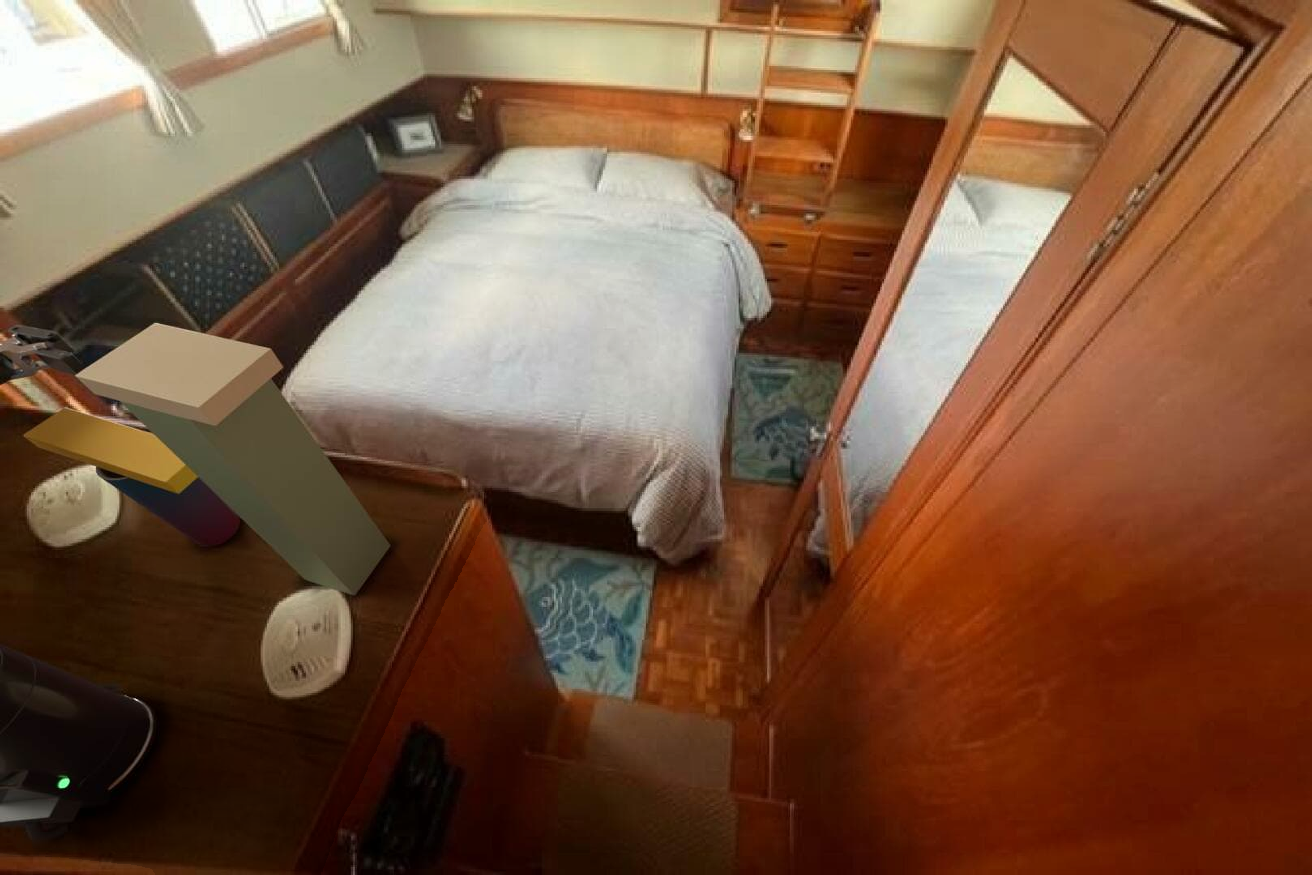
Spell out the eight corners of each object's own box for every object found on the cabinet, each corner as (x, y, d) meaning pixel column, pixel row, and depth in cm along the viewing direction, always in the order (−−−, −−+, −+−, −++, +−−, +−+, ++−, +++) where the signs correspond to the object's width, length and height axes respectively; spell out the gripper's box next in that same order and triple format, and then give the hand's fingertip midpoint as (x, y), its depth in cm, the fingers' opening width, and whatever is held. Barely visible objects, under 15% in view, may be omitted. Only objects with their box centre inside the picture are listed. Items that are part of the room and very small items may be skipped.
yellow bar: (215, 461, 57) (204, 449, 56) (178, 494, 54) (165, 482, 53) (79, 419, 61) (65, 406, 60) (38, 447, 59) (22, 435, 57)
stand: (408, 550, 67) (271, 348, 43) (373, 601, 63) (198, 407, 39) (327, 527, 69) (155, 322, 46) (288, 574, 65) (74, 375, 41)
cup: (229, 554, 67) (144, 480, 56) (175, 552, 67) (79, 479, 56) (258, 508, 71) (184, 432, 60) (207, 507, 71) (124, 431, 60)
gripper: (-217, 379, 49) (-93, 416, 45) (-42, 293, 58) (72, 319, 55) (-127, 434, 54) (-11, 471, 51) (20, 348, 63) (126, 375, 60)
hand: (31, 393), depth 53 cm, fingers open, 8 cm apart
